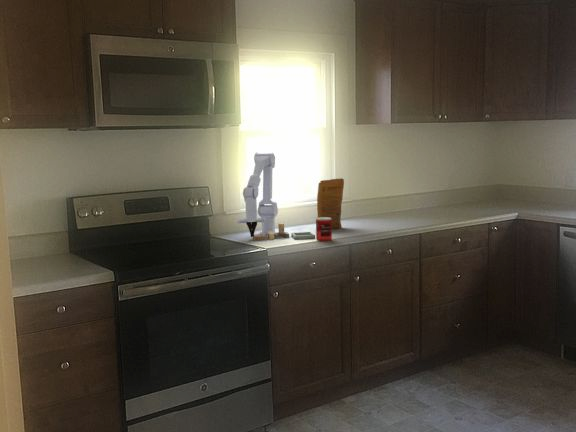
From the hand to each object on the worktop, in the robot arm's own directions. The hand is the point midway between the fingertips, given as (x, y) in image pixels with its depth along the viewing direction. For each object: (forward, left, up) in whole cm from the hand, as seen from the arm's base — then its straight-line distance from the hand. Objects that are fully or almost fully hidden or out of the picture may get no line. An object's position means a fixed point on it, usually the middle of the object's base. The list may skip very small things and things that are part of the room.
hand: (252, 236), depth 331 cm
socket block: (-3, +16, -1) cm, 16 cm away
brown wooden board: (0, +4, -2) cm, 4 cm away
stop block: (0, +10, -1) cm, 10 cm away
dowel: (-3, +16, -1) cm, 16 cm away
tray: (+2, +26, -1) cm, 26 cm away
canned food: (+14, +35, -2) cm, 37 cm away
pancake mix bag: (-24, +47, -2) cm, 52 cm away
